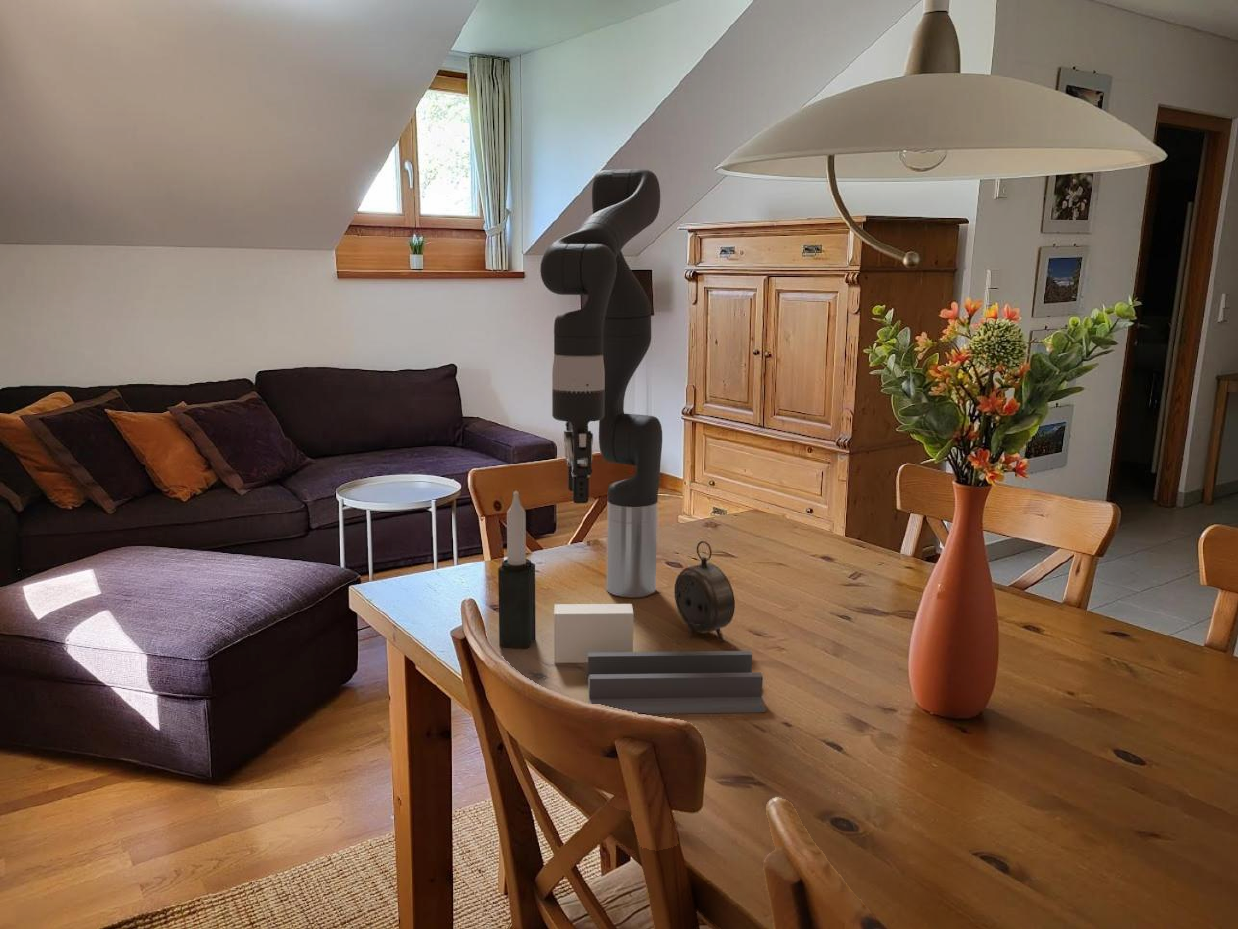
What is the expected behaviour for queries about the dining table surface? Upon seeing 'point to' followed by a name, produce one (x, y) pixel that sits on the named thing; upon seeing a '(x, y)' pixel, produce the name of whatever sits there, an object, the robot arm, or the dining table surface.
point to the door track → (675, 682)
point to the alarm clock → (704, 597)
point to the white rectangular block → (591, 630)
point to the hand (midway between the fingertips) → (577, 496)
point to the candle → (516, 584)
